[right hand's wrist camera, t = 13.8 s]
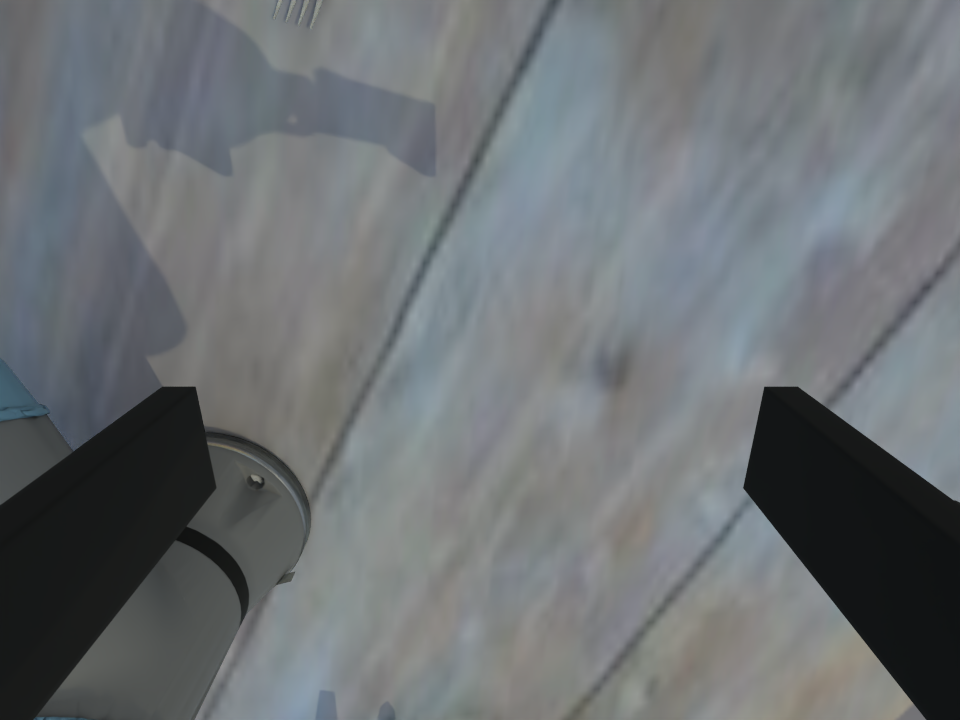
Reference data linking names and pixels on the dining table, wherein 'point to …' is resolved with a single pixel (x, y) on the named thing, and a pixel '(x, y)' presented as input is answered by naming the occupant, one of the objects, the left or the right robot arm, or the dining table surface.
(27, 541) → the right robot arm
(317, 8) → the fork
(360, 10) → the dining table surface
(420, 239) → the dining table surface
